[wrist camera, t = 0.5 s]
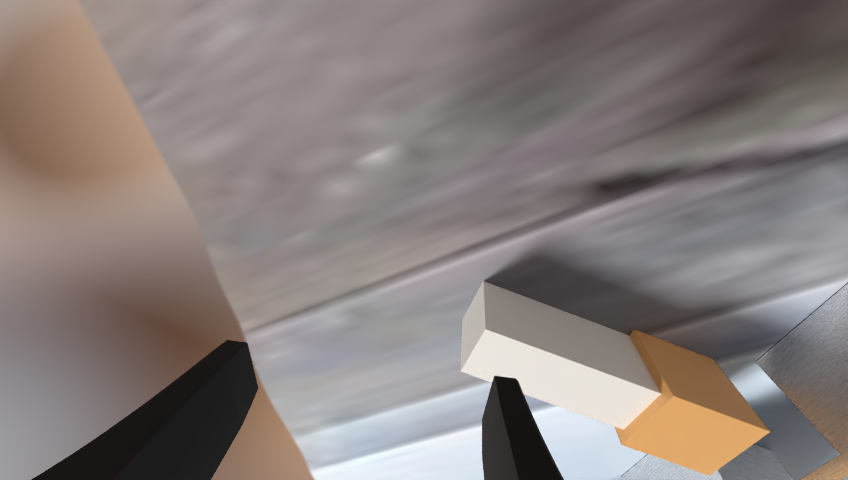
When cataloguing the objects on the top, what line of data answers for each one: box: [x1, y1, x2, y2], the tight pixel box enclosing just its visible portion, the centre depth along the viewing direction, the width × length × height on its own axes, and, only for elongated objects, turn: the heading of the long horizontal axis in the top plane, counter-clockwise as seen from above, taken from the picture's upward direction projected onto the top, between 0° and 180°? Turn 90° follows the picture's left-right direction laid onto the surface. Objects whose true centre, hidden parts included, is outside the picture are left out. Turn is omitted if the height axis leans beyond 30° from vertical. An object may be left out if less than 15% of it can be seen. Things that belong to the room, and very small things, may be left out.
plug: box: [461, 281, 771, 476], centre depth 19 cm, size 4×14×4 cm, turn 70°
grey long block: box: [621, 283, 848, 480], centre depth 19 cm, size 20×6×6 cm, turn 160°
